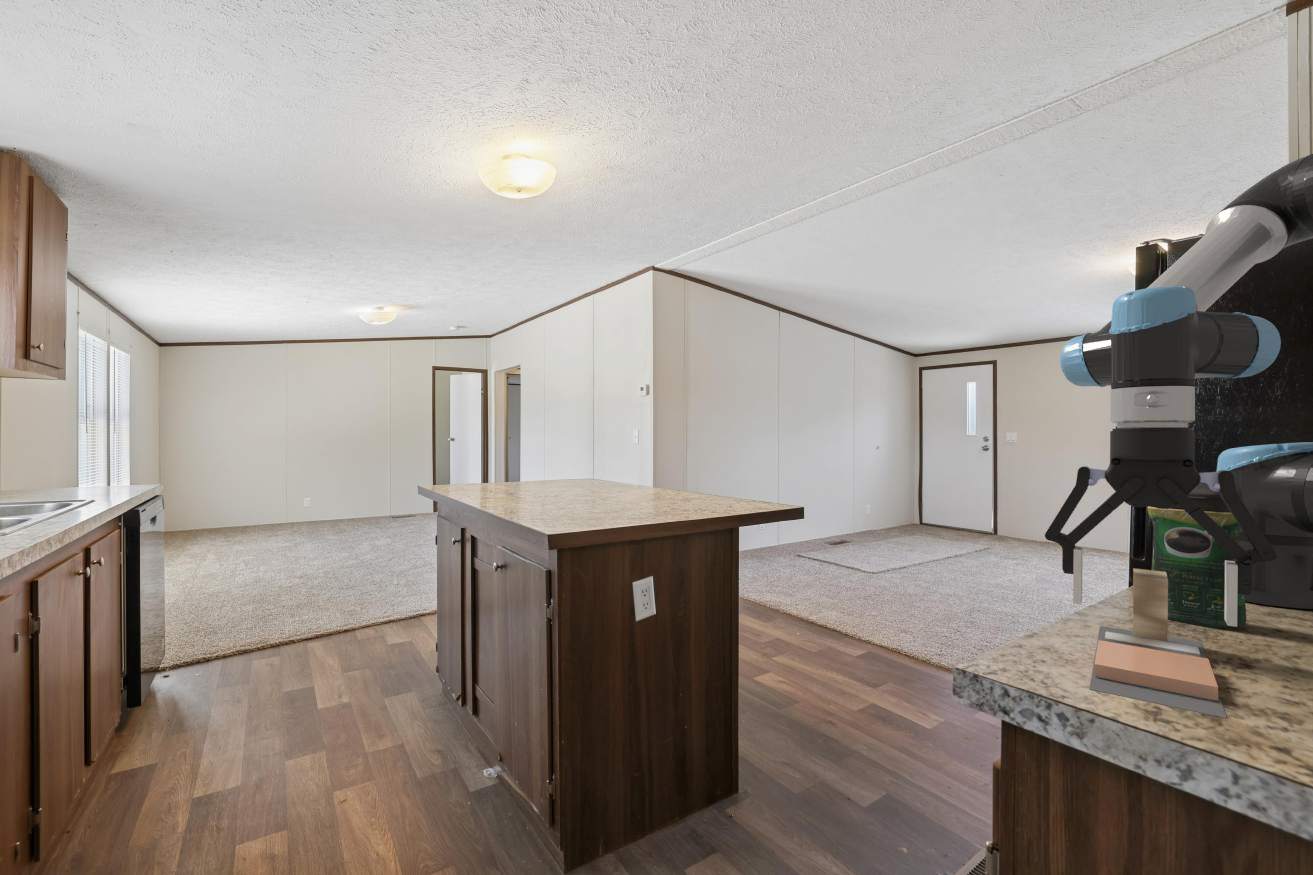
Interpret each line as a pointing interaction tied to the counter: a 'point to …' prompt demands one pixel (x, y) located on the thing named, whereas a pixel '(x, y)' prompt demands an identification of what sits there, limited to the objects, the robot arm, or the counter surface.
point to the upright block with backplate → (1151, 615)
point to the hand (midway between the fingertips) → (1149, 612)
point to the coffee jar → (1196, 560)
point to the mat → (1153, 694)
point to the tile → (1156, 669)
